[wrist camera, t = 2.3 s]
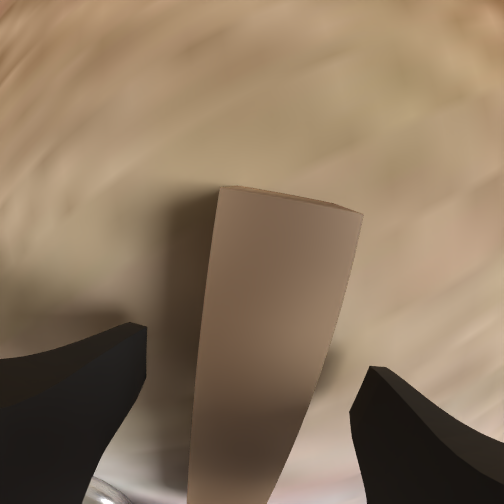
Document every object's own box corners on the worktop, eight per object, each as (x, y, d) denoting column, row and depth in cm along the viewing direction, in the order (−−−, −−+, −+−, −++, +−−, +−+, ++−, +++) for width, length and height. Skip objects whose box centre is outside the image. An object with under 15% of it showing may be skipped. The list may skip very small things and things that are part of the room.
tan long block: (331, 202, 10) (363, 214, 6) (250, 494, 13) (244, 543, 10) (239, 185, 10) (219, 187, 6) (198, 485, 13) (185, 533, 10)
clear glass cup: (129, 487, 14) (119, 509, 12) (136, 515, 15) (129, 533, 13) (65, 460, 14) (53, 478, 12) (79, 492, 15) (70, 508, 13)
